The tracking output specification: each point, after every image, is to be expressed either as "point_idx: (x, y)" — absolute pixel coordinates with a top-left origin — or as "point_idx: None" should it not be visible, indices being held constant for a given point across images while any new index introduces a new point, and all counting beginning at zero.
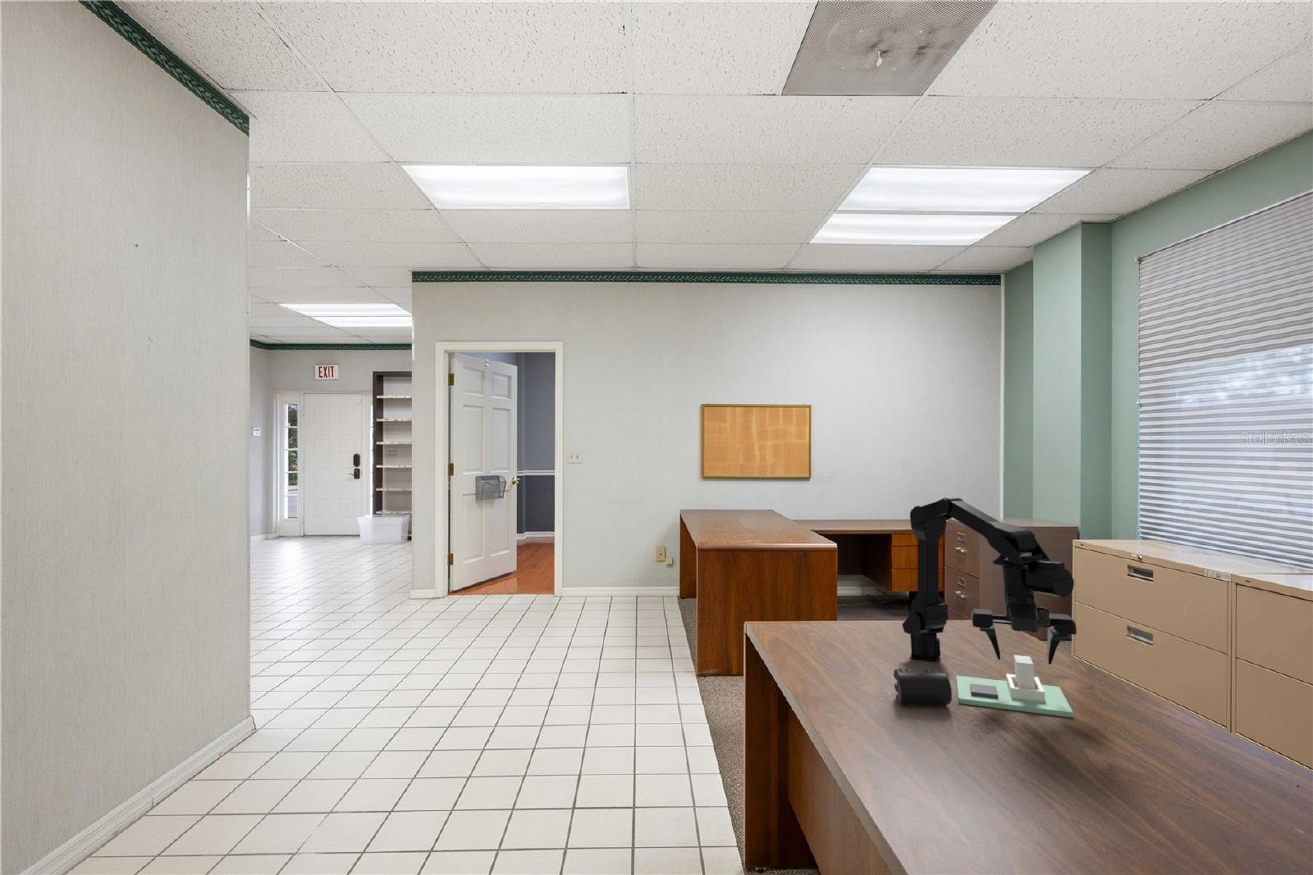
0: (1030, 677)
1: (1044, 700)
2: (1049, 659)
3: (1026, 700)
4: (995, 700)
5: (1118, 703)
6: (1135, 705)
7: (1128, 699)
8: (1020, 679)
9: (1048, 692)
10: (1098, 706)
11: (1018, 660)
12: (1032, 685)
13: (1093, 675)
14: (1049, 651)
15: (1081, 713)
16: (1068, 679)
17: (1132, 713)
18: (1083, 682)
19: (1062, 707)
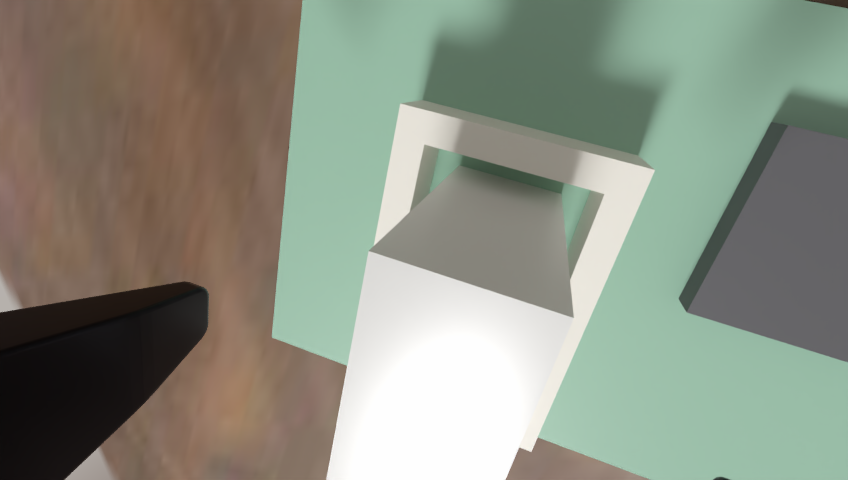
0: (452, 209)
1: (424, 101)
2: (148, 299)
3: (545, 110)
4: (826, 78)
5: (90, 189)
6: (37, 171)
7: (54, 238)
8: (541, 227)
9: (348, 262)
10: (168, 142)
11: (508, 384)
12: (456, 187)
13: (129, 468)
14: (17, 345)
15: (265, 18)
16: (217, 447)
17: (54, 65)
18: (172, 413)
19: (348, 3)
